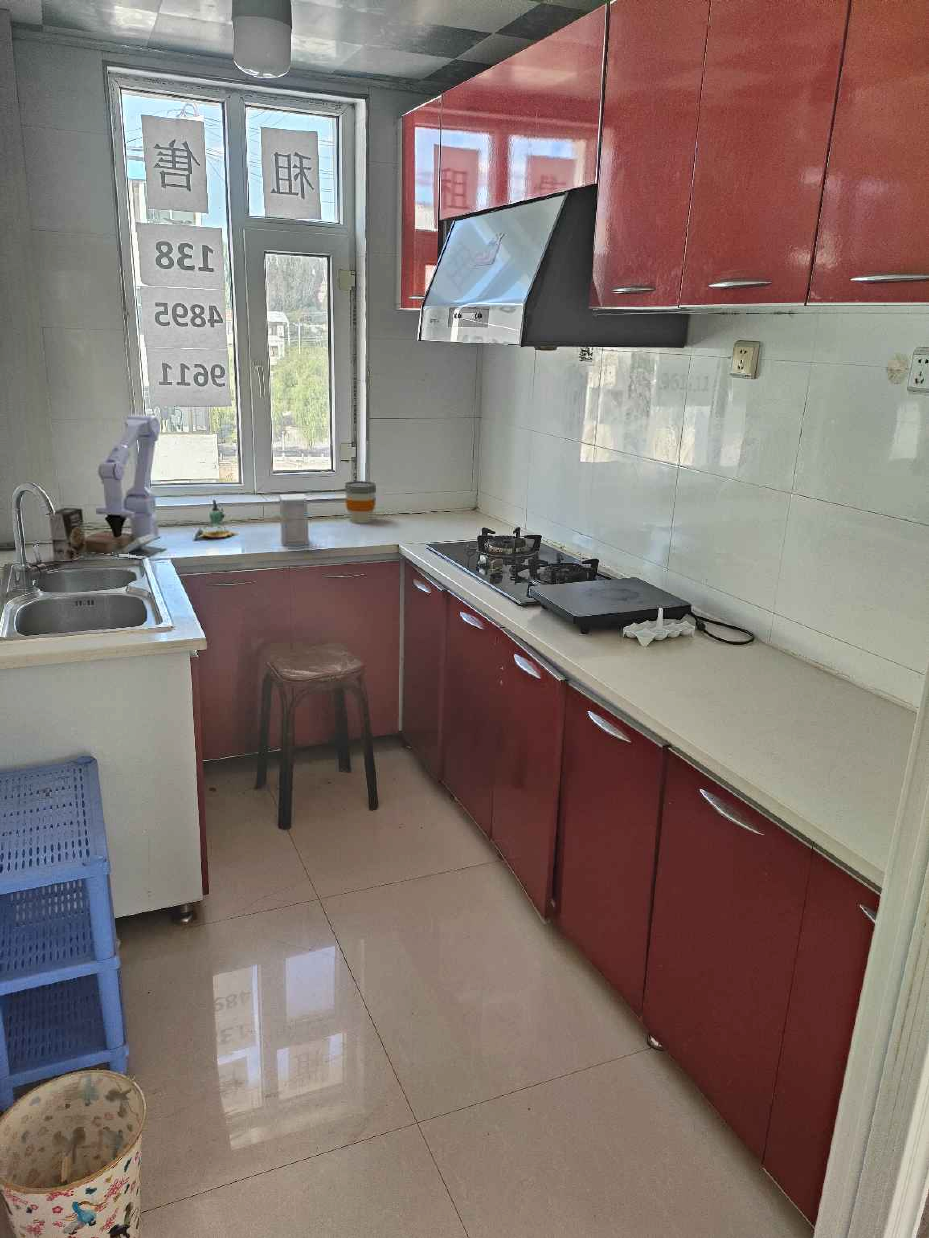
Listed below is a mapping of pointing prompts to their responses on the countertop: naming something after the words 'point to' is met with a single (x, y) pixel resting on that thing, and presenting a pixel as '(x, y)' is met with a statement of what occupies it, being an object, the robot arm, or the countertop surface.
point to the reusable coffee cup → (360, 500)
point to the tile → (139, 543)
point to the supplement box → (294, 519)
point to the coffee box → (68, 534)
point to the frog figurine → (215, 518)
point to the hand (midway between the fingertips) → (117, 536)
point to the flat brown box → (107, 542)
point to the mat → (141, 551)
